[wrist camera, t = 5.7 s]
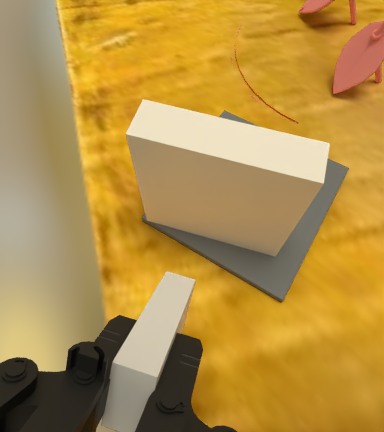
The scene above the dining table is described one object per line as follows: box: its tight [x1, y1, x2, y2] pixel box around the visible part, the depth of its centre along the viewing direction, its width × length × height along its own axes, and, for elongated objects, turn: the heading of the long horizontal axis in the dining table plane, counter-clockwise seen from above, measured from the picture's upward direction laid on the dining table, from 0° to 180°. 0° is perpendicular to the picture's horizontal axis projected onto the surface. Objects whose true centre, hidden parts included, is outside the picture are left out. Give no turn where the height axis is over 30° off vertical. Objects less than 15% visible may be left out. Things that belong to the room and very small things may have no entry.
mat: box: [142, 110, 349, 302], centre depth 28 cm, size 12×13×1 cm
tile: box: [126, 99, 330, 257], centre depth 22 cm, size 10×3×10 cm, turn 73°
